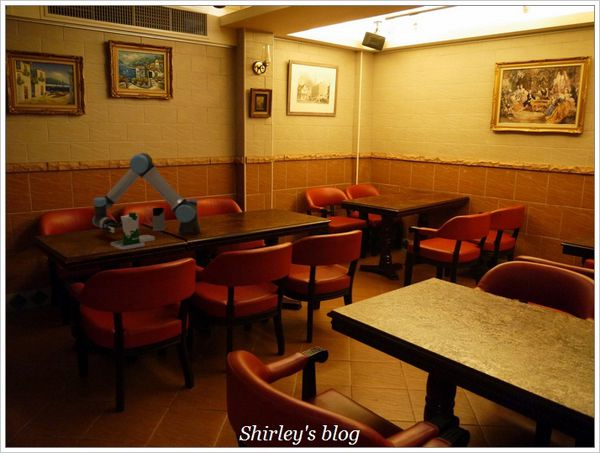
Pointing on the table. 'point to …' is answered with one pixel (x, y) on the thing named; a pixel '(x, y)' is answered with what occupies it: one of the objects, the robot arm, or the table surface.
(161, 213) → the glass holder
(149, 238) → the small square white tray
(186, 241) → the table surface
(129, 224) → the milk carton
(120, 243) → the shallow grey tray
